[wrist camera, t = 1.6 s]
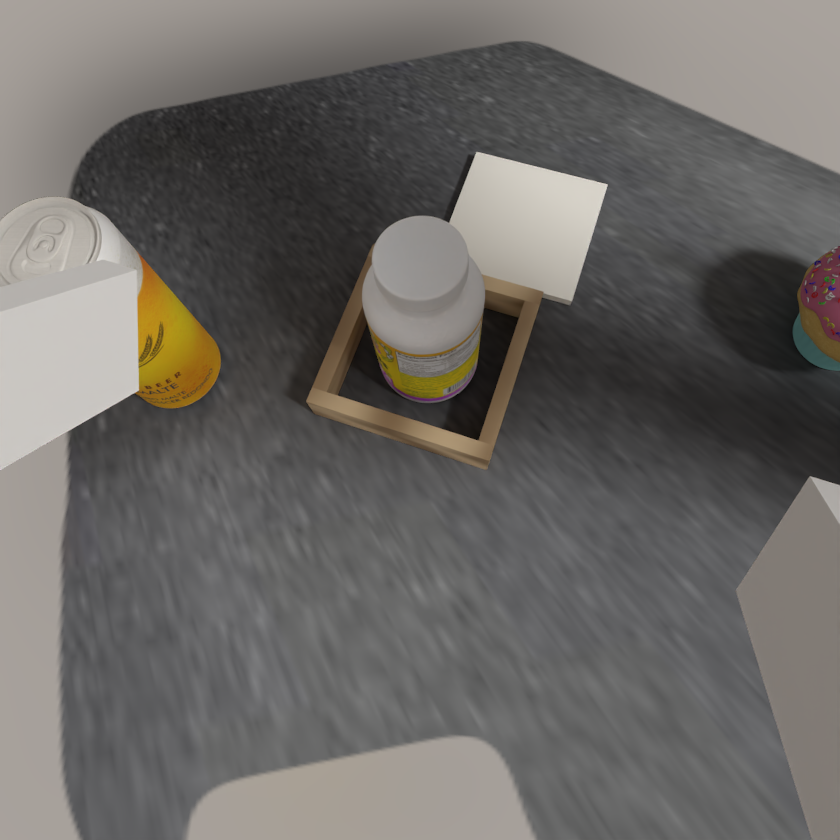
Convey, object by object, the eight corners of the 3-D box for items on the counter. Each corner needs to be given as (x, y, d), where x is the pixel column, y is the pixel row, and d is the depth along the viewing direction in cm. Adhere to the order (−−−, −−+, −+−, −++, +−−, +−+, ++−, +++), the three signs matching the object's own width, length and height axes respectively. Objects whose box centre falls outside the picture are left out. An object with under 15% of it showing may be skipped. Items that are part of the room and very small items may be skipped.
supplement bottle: (384, 314, 42) (358, 193, 30) (478, 318, 42) (492, 197, 29) (376, 405, 40) (344, 315, 28) (475, 409, 40) (487, 320, 27)
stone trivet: (605, 190, 44) (607, 184, 44) (570, 305, 41) (571, 301, 41) (476, 157, 46) (476, 151, 45) (433, 267, 43) (433, 262, 42)
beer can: (126, 403, 41) (-48, 293, 26) (154, 324, 42) (6, 180, 28) (210, 419, 40) (78, 315, 26) (235, 338, 42) (125, 198, 28)
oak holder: (538, 309, 41) (543, 291, 39) (486, 470, 38) (489, 460, 36) (377, 263, 43) (372, 243, 41) (314, 413, 40) (306, 401, 38)
